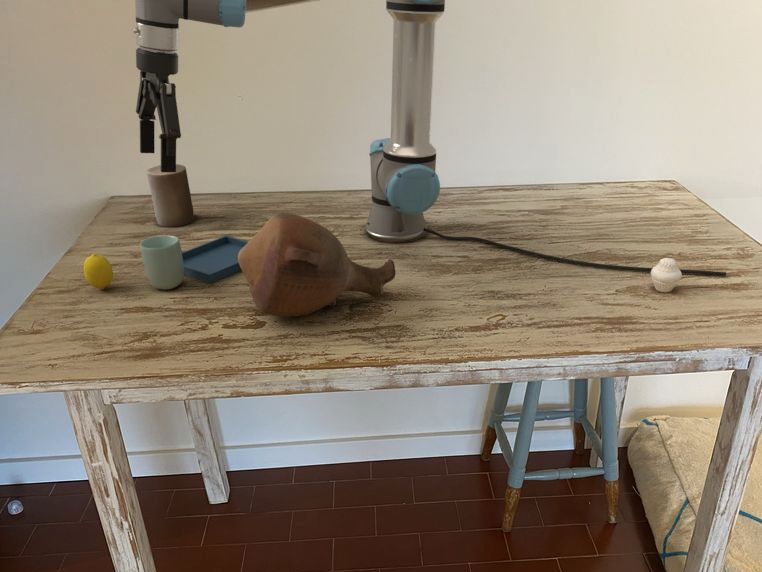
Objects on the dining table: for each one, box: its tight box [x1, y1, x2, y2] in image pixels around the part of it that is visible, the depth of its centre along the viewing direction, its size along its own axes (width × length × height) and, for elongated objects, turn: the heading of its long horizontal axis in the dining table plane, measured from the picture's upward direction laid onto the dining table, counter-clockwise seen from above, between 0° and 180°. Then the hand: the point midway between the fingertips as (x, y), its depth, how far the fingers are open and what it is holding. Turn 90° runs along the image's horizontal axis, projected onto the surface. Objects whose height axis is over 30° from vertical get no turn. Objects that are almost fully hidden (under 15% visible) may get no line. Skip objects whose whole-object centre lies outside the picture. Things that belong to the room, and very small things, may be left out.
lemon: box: [83, 253, 114, 290], centre depth 148 cm, size 6×6×8 cm
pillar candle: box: [146, 163, 196, 228], centre depth 182 cm, size 10×10×15 cm
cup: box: [139, 234, 185, 290], centre depth 149 cm, size 8×8×10 cm
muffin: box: [650, 257, 683, 293], centre depth 146 cm, size 6×6×7 cm
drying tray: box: [182, 234, 249, 284], centre depth 162 cm, size 15×18×2 cm
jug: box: [238, 212, 396, 318], centre depth 137 cm, size 20×20×30 cm
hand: (157, 162), depth 143 cm, fingers open, 13 cm apart
